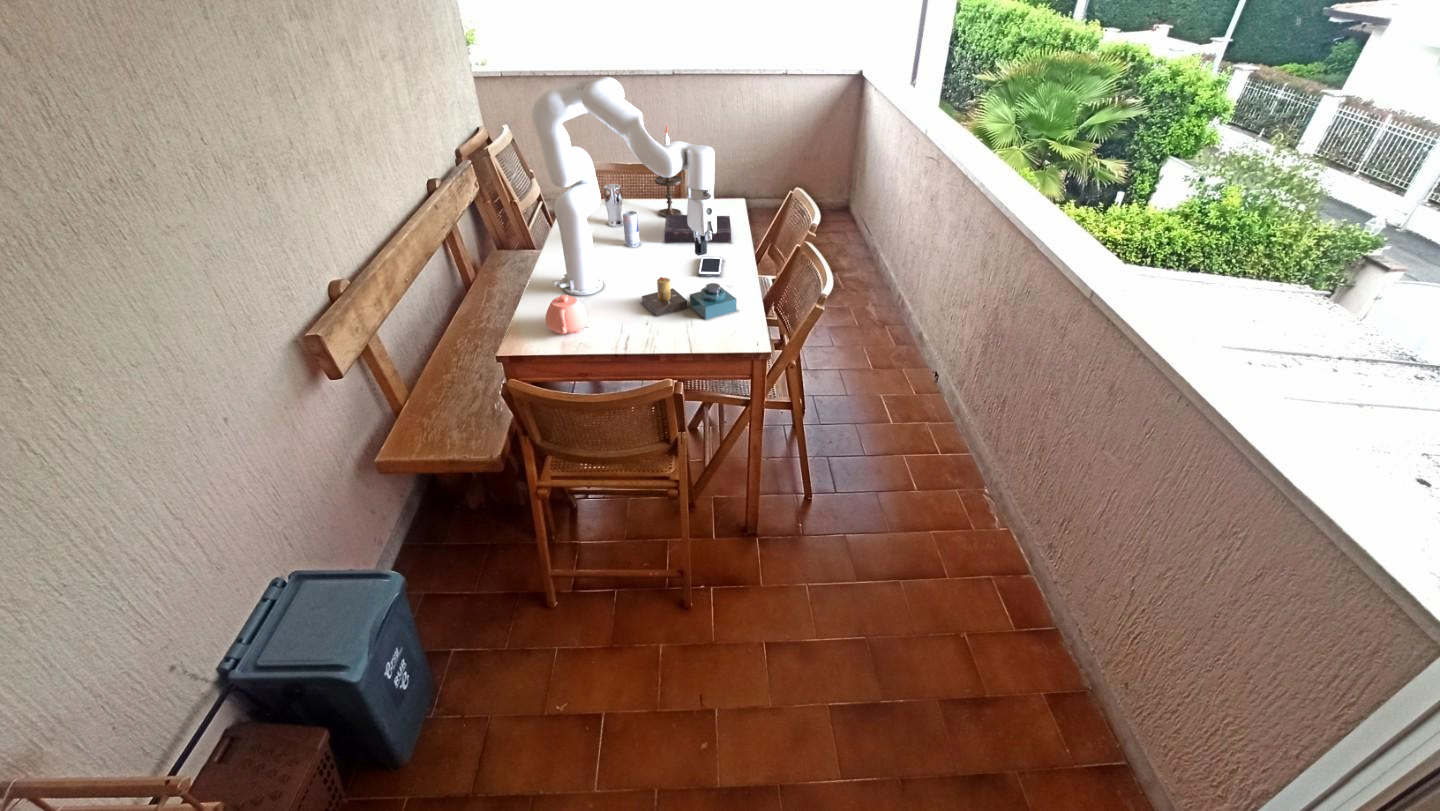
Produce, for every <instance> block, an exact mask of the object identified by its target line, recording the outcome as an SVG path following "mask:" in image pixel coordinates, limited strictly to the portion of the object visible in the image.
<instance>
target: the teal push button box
mask: <svg viewBox="0 0 1440 811" xmlns="http://www.w3.org/2000/svg"><path fill="white" fill-rule="evenodd" d="M689 307H690V308H691V309H693V311H695V312H696V313H697V314H698V315H700V316H701V317H702V318H703V319H705V320H709V319H713V318H715V317H720V316H723V315H727V314H730V313H734V312H737V298H736V297H735V296H734V295H732V294H731V293H729V292H728V291H727V290H726V289H724V288H723V287H722V286H720V293H719V294H717V295H709V294H706V286H704V287H703V288H701V290H700V291H697V292H693V293H690V294H689Z"/></svg>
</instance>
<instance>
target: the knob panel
mask: <svg viewBox="0 0 1440 811" xmlns="http://www.w3.org/2000/svg"><path fill="white" fill-rule="evenodd" d="M670 289H671V299H670V300H667V301H661V300H659V299H658V291H656V292H651V293H649V294H645V295H644V294H643V295H642V296H641V303H642V304H643V305H644V306H645V307H646V308H647V309H648V310H649V311H650V312H651V313H652V314H653V315H654V316H655V317H658V316H662V315H665V314H666V315H667V314H668V313H673V312H677V311H680V310H684V309H688V308H689V305H688V303H689V302H688V299H686V298H685V296H683V295H682V294H680V293H679V292H678V291H677V290H676V289H674V288H670Z"/></svg>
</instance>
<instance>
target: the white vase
mask: <svg viewBox="0 0 1440 811" xmlns="http://www.w3.org/2000/svg"><path fill="white" fill-rule="evenodd" d="M603 198H604V199H603V200H604V204H605V208H606V212H607V225H608V226H610V227H615V228H616V227H620V226H624V224H623V214H622V209H623V193H622V187H621V184H618V183H608V184H605V185H603Z"/></svg>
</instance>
